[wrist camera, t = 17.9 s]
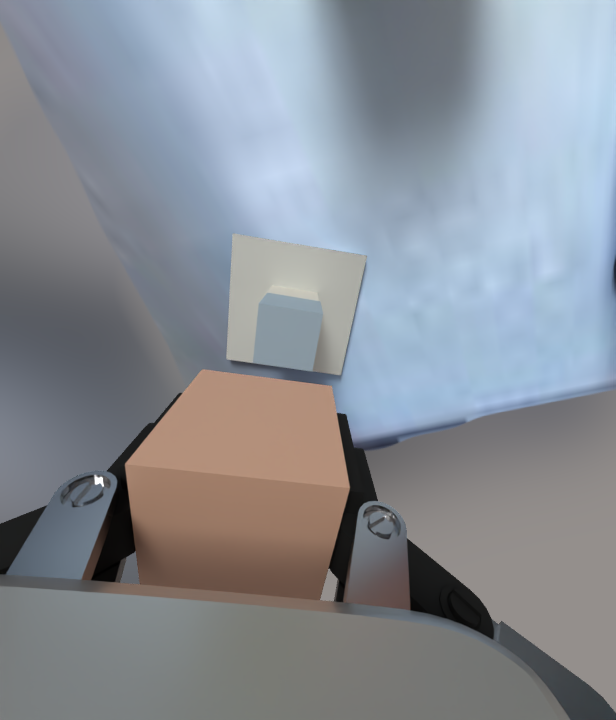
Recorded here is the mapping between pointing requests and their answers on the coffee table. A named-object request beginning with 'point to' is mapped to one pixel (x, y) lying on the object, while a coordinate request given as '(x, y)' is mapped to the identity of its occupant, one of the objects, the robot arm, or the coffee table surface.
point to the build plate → (298, 271)
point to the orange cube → (240, 488)
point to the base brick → (293, 292)
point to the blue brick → (287, 331)
